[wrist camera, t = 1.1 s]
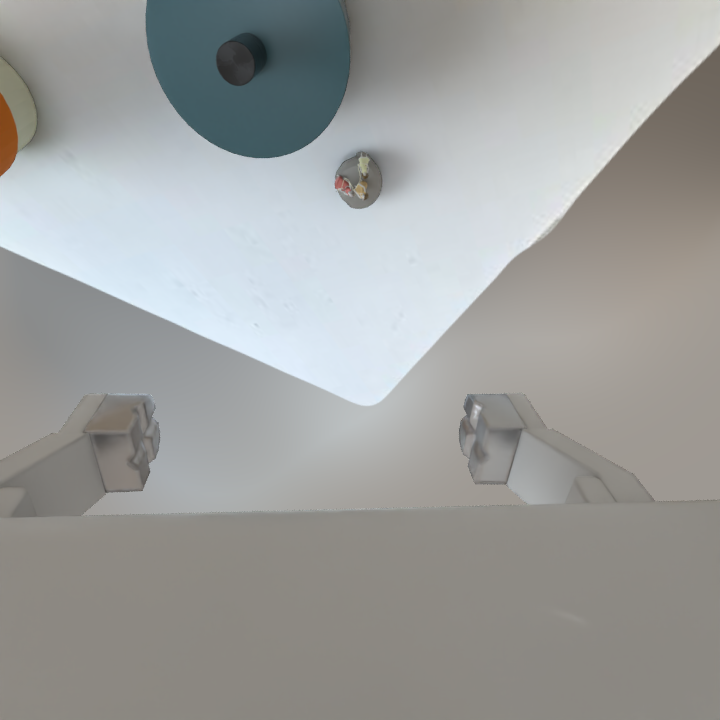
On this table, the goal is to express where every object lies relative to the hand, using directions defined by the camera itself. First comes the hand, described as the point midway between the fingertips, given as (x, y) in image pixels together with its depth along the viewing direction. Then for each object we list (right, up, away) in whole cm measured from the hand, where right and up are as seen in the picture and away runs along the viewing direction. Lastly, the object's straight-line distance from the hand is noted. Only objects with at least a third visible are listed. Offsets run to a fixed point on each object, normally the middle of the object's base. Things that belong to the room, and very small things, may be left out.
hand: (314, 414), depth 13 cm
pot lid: (-6, +22, +21) cm, 31 cm away
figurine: (+1, +20, +35) cm, 40 cm away
